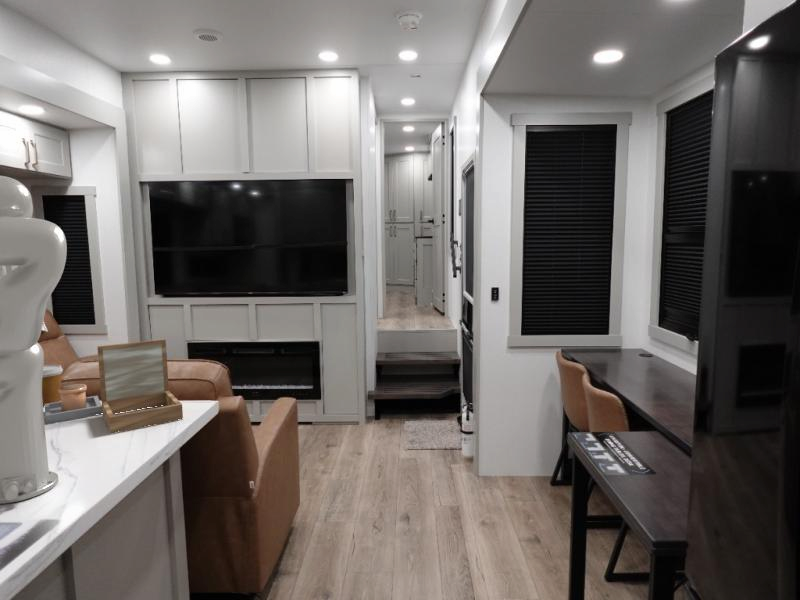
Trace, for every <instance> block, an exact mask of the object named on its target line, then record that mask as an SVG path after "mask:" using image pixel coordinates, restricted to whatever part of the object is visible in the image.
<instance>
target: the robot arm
mask: <svg viewBox="0 0 800 600" xmlns="http://www.w3.org/2000/svg"><path fill="white" fill-rule="evenodd" d="M33 212H34V205H33V200H32V195H31V192H30V191H29V189H28V188H27V187H26V186H25V184H24V183H22V182H20V181H19V180H17V179H14V178H12V177H9V176H5V175H0V504H1V505H2V504H10V503H17V502H21V501H25V500H28V499H31V498H34V497H37V496H40V495H42V494H44V493H46V492H48V491H50V490H51V489H53V488H54V487H55V486H56V485H58V483H59V475H58V473H56V472H54V471H52V470H51V471H50V470H49V468H50V467H49V459H48V458H49V457H48V448H47V447H48V446H47V436H46V426H45V425H46V423H45V412H44V407H43V400H42V377H43V367H44V366H45V353H44V350H43V347H42V346H41V344H40V343H39V342H38V341H39V339H40V337H41V333H42V330H43V324H44V319H45V314H46V310H47V309H46V308H47V304H48V301H49V298H50V296H51V294H53V292H54V290H55V288H56V287H57V285H58V283H59V282H60V280H61V278H62V275H63V273H64V269H65V265H66V262H67V253H68V252H67V251H68V250H67V249H68V248H67V245H68V244H67V239H66V235H65V233H64V231H63V230H62V229H61V227H60V226H58V225H57V224H56V223H54V222H51V221H49V220H46V219H41V218H36V217H33V214H34V213H33ZM8 266H9V267H11V266H14V267H15V266H17V267H15V268H14V269H12V270H11V271H9V272H7V267H8Z"/></svg>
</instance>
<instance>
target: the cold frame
mask: <svg viewBox="0 0 800 600" xmlns="http://www.w3.org/2000/svg"><path fill="white" fill-rule="evenodd" d="M97 359H98V360H97V361H98V371H99V373H98V374H99V385H100V400H101V401H100V402H101V405H102V413H103V414H102V417H104V418H103V420H104V419H105V420H104V422H105V424H107V425H106V427H107V426H108V427H107V429H108V430H109V433H113V434H116V433H115V432H118V431H122V432H126V431H125V430H127V431H131V429H132V430H136V428H137V429H141V428H140V427H142V428H145V427H144V426H147V427H149V426H148V425H152V426H155V425H154V424H157V425H161V424H160V423H162V424H165V423H164V422H167V423H170V422H169V421H172V422H175V421H174V420H177V421H179V420H178V419H182V418H183V419H184V415H183V414H184V413H183V403H181V401H179V400H178V398H177V397H175V395H174V394H173V393H171V391H170V390H169V388H170V387H169V374H168V372H169V370H168V355H167V341H166V339H165V338H162V339H154V340H145V341H136V342H134V341H133V342H125V343H116V344H107V345H106V344H105V345H99V346H97ZM161 405H166V406H161ZM155 406H161V407H156V408H150V409H145V410H139V411H134V412H128V413H123V414H117V415H113V414H115V413H120V412H126V411H131V410H137V409H142V408H147V407H155ZM183 419H182V420H183ZM118 433H119V432H118Z"/></svg>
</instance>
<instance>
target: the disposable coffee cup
mask: <svg viewBox="0 0 800 600" xmlns="http://www.w3.org/2000/svg"><path fill="white" fill-rule="evenodd" d="M63 371H64V368H63V366H62V365H60V364H47V365H45V364H44V367H43V377H42V400H43V406H45V405H44V404H48V403H54V402H60V401H61V398H60V394H59V393H58V389H59V388H60V387H62V373H63Z"/></svg>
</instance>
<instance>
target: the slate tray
mask: <svg viewBox="0 0 800 600" xmlns="http://www.w3.org/2000/svg"><path fill="white" fill-rule="evenodd" d="M100 400H101V399H99V395H92V396H88V397H87V396H86V407H87V408H83V409H77V410H71V411H65V412H62V411H61V400H60V402H54V403H48V404H44V405H45V407H44V418H45V425H48V424H47V423H51V424H54V423H53V422H57V423H61V421H62V422H67V421H66V420H68V421H72V419H74V420H78V419H77V418H79V419H82V418H81V417H85V418H89V417H88V416H90V417H93V416H92V415H96V414H101V413H102V402H101V401H100ZM96 416H97V415H96Z"/></svg>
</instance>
